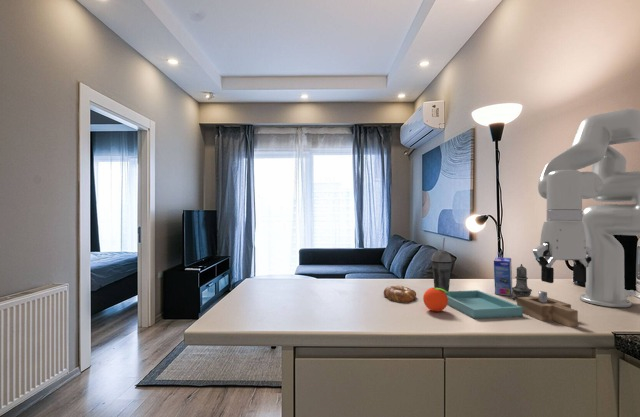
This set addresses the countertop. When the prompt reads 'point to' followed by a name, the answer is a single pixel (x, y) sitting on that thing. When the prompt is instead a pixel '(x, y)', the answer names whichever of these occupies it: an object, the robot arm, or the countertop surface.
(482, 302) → the tray
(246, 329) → the countertop surface
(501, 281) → the ink cartridge box
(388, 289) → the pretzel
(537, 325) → the countertop surface
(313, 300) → the countertop surface
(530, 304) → the wooden frame with stub
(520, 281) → the grey tiered figurine
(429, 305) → the clementine
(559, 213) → the robot arm
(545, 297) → the grey metallic cylinder
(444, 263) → the beverage cup
